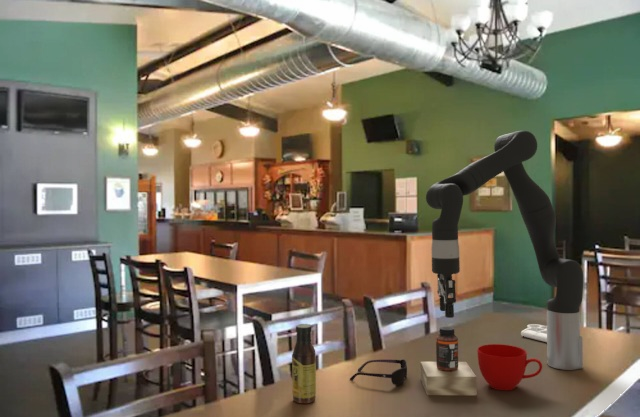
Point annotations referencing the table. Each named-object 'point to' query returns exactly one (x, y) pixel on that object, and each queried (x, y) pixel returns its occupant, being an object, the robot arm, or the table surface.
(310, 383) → the sauce bottle
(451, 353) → the supplement bottle
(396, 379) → the sunglasses
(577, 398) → the table surface
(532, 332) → the white brass knuckles
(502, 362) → the ceramic cup
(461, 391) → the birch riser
